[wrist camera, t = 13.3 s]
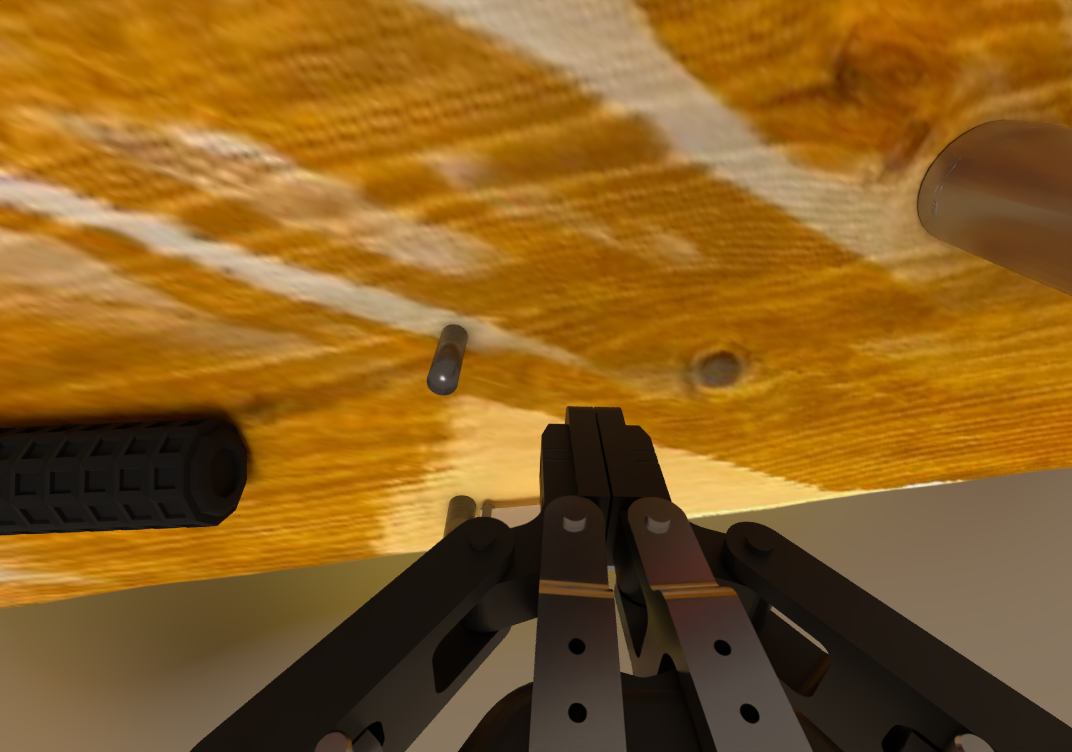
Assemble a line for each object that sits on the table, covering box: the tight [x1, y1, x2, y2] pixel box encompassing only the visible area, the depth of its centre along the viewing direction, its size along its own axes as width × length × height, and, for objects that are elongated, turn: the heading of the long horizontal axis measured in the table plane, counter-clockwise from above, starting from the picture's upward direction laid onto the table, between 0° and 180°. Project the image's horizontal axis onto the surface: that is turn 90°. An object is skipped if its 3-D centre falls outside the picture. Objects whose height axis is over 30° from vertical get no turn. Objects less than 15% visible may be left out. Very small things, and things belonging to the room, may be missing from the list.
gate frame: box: [427, 325, 476, 538], centre depth 48 cm, size 3×24×11 cm, turn 178°
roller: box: [0, 419, 247, 535], centre depth 50 cm, size 38×10×10 cm, turn 92°
